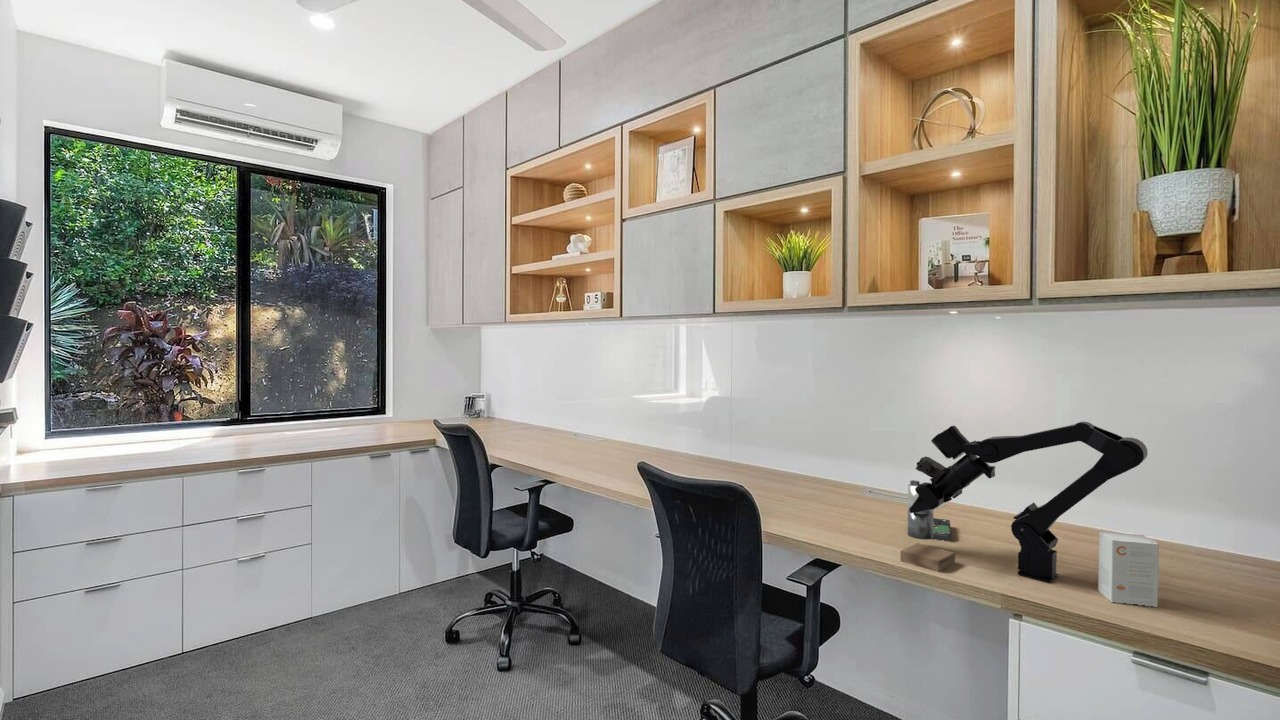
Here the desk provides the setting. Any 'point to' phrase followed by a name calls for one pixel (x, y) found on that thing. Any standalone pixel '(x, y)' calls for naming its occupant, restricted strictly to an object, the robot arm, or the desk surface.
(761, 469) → the desk surface
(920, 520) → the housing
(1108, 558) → the small box
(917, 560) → the stand
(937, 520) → the disk drive
